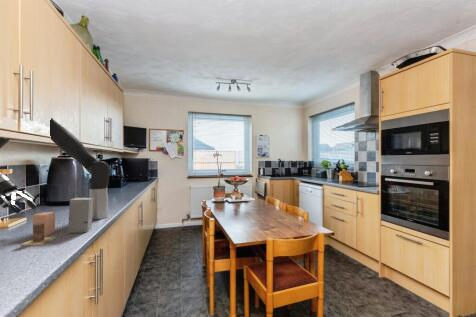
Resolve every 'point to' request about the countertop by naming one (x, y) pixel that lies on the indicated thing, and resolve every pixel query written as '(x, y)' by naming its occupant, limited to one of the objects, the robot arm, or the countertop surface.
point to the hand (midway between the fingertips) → (27, 209)
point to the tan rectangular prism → (45, 221)
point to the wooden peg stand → (38, 236)
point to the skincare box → (80, 215)
